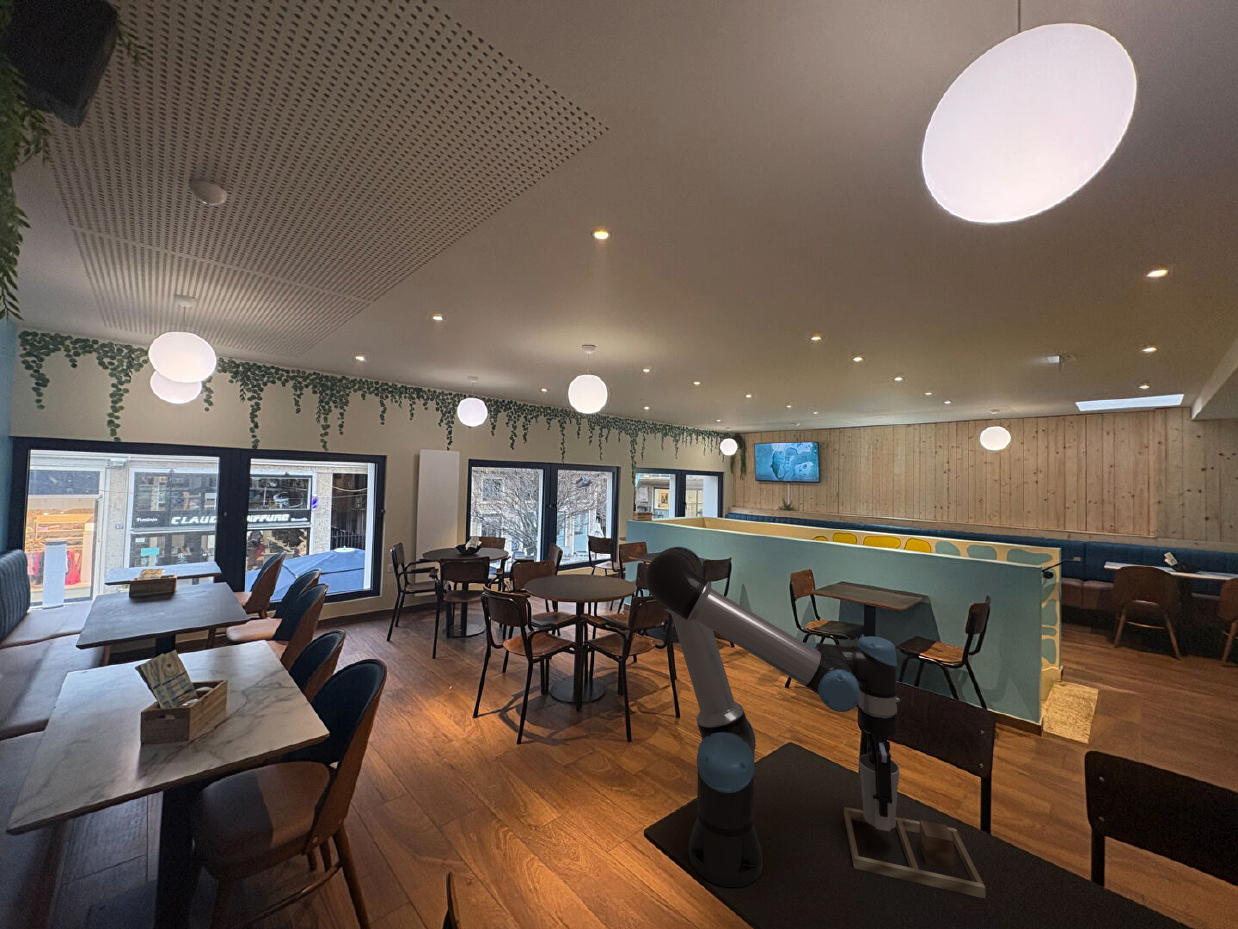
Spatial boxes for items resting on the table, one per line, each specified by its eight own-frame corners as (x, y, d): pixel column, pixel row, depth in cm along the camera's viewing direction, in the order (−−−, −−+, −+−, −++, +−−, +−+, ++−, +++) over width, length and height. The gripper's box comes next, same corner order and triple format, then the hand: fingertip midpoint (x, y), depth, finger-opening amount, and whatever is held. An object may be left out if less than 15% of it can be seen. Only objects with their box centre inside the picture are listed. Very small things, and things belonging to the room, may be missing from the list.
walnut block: (926, 865, 104) (925, 835, 104) (919, 848, 108) (919, 820, 108) (954, 871, 102) (953, 841, 102) (946, 853, 107) (946, 825, 107)
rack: (853, 868, 102) (853, 858, 102) (844, 815, 118) (844, 806, 119) (985, 898, 95) (985, 888, 95) (955, 838, 111) (955, 828, 111)
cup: (906, 834, 104) (905, 776, 104) (865, 829, 106) (864, 772, 106) (893, 810, 112) (892, 755, 112) (855, 805, 113) (854, 751, 114)
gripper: (908, 736, 99) (909, 854, 98) (887, 694, 118) (888, 792, 117) (866, 730, 101) (867, 845, 100) (852, 689, 120) (853, 786, 120)
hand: (879, 816), depth 109 cm, fingers closed on cup, 7 cm apart
